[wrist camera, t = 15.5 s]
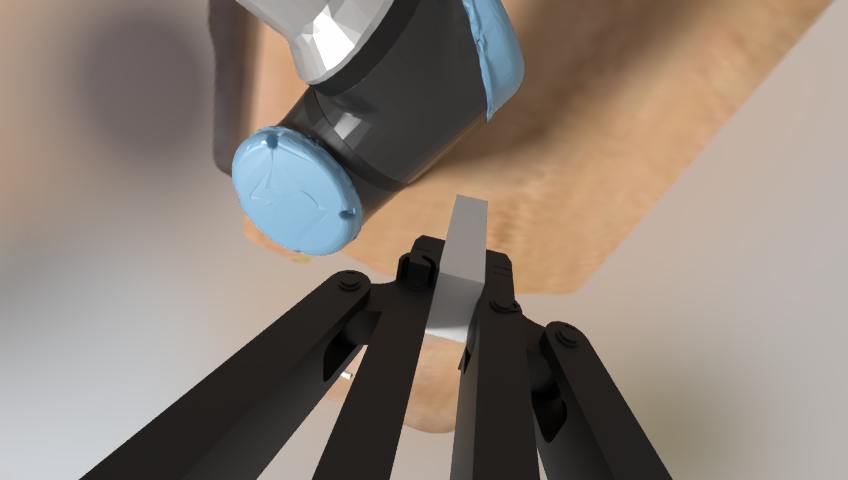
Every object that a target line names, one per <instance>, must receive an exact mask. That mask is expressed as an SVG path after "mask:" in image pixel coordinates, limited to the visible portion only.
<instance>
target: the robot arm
mask: <svg viewBox="0 0 848 480" xmlns="http://www.w3.org/2000/svg"><path fill="white" fill-rule="evenodd" d="M236 1H237V2H238V3H240V4H241V5H242V6H244V7H245V8H246V9H248V10H249V11H250V12H251V13H253V14H254V15H255V16H257V17H258V18H259V19H261V20H262V21H263V22H265V23H266V24H267V25H268V26H270V27H271V28H272V29H274V30H275V31H276V32H278V33H279V34H280V35H281V36H283V37H284V38H285V39H286V40H287V42H288V44H289V46H290V50H291V54H292V57H293V61H294V65H295V68H296V72H297V75H298V76H299V78H300V79H301V80H302V81H304V82H305V83H306V84H308V85H309V88H308V89H307V90H306V91H305V92H304V94H303V95H302V96H301V98H300V99H299V100H298V101H297V103H296V104H295V105H294V106H293V108H292V109H291V110H290V111H289V113H288V114H287V115H286V116H285V118H284V119H283V120H282V121H281V122H280V123H278V124H277V125H276V126H270V127H264V128H263V129H259V130H258V131H257V132H256V133H254V134H252V136H250V137H249V138H247V139H246V140H245V141H244V142H243V143H242V144H241V145H240V146H239V148H238V149H237V151H236V153H235V156H234V160H233V165H232V178H233V184H234V188H235V190H236V191H237V193H238V195H239V197H240V199H239V202H240V204H241V206H242V207H243V209H244V211H245V212H246V214H247V215H248V217H249V218H250V219H251V221H252V222H253V223H254V224H255V225H256V226H257V227H258V228H259V229H260V230H261V231H262V232H263V233H264V234H265V235H266V236H267V237H269V238H270V239H271V240H273V241H274V242H276V243H277V244H279V245H281V246H283V247H285V248H287V249H289V250H291V251H294V252H303V253H305V254H307V255H312V256H322V255H328V254H332V253H335V252H337V251H339V250H341V249H342V248H344V247H345V246H346V245H347V244H348V243H350V242H352V241H353V240H354V239H355V238H356V237H357V236H358V234H359V232H360V230H361V227H362V226H363V225H364V223H365V222H366V221H367V220H368V219H369V218H370V217H371V216H372V215H374V214H375V213H376V212H377V211H378V210H379V209H380V208H382V207H383V206H384V205H385V204H386V203H388V202H389V201H390V200H391V199H392V198H393V197H395V196H396V195H397V194H398V193H399V192H400V191H402V190H403V189H404V188H405V187H406V186H407V185H409V184H410V183H411V182H413V181H414V180H416V179H417V178H418V177H419V176H420V175H422V174H423V173H424V172H425V171H426V170H428V169H429V168H430V167H431V166H433V165H434V164H435V163H436V162H437V161H439V160H440V159H441V158H442V157H444V156H445V155H446V154H447V153H448V152H450V151H451V150H452V149H453V148H454V147H456V146H457V145H458V144H459V143H461V142H462V141H463V140H464V139H465V138H467V137H468V136H469V135H470V134H472V133H473V132H474V131H475V130H476V129H478V128H479V127H480V126H481V125H482V124H484V123H487V122H489V120H490V119H491V118H492V116H493V114H494V113H495V112H496V111H497V110H498V109H499V108H500V107H501V106H502V105H503V104H504V103H506V102H507V101H508V100H509V99H510V98H511V97H512V96H513V95H514V94H515V93H516V92H517V90H518V89H519V87H520V86H521V83H522V81H523V78H524V72H525V66H524V59H523V55H522V51H521V48H520V45H519V42H518V39H517V36H516V34H515V31H514V29H513V26H512V24H511V22H510V20H509V17H508V15H507V13H506V11H505V8H504V6H503V4H502V2H501V0H236ZM487 206H488V201H484V200H480V199H475V198H471V197H467V196H462V195H458V194H457V197H456V201H455V205H454V209H453V213H452V217H451V221H450V225H449V229H448V233H447V237H446V240H441V239H437V238H433V237H429V236H425V235H422V236H420V237H419V238H417V239H416V240H415V242H414V245H413V247H412V250H411V252H410V253H406V254H404V255H402V256H401V257H400V259H399V263H398V270H397V276H396V280H395V281H393V282H390V283H385V284H371V281H370V280H369V278H368V276H366V275H365V274H363V273H361V272H358V271H354V270H345V271H340V272H337V273H335V274H334V275H332V276H331V277H329V278H328V279H327V280H326V281H324V282H323V283H322V284H321V285H320V286H318V287H317V288H316V289H315V290H313V291H312V292H311V293H310V294H308V295H307V296H306V297H305V298H303V299H302V300H301V301H300V302H298V303H297V304H296V305H295V306H294V307H292V308H291V309H290V310H289V311H287V312H286V313H285V314H284V315H282V316H281V317H280V318H279V319H277V320H276V321H275V322H274V323H273V324H271V325H270V326H269V327H267V328H266V329H265V330H264V331H263V332H261V333H260V334H259V335H258V336H256V337H255V338H254V339H253V340H251V341H250V342H249V343H248V344H246V345H245V346H244V347H243V348H241V349H240V350H239V351H238V352H237V353H235V354H234V355H233V356H231V357H230V358H229V359H228V360H227V361H225V362H224V363H223V364H222V365H221V366H219V367H218V368H217V369H215V370H214V371H213V372H212V373H210V374H209V375H208V376H207V377H205V378H204V379H203V380H202V381H201V382H199V383H198V384H197V385H196V386H194V387H193V388H192V389H191V390H189V391H188V392H187V393H186V394H185V395H183V396H182V397H181V398H179V399H178V400H177V401H176V402H175V403H173V404H172V405H171V406H170V407H168V408H167V409H166V410H165V411H164V412H162V413H161V414H160V415H158V416H157V417H156V418H155V419H153V420H152V421H151V422H150V423H148V424H147V425H146V426H145V427H144V428H142V429H141V430H140V431H138V432H137V433H136V434H135V435H134V436H132V437H131V438H130V439H129V440H127V441H126V442H125V443H124V444H122V445H121V446H120V447H119V448H117V450H115V451H114V452H112V454H110V455H109V456H108V457H106V458H105V459H104V460H103V461H101V462H100V463H99V464H98V465H97V466H95V467H94V468H93V469H92V470H90V471H89V472H88V473H86V474H85V475H84V476H83V477H82V478H80V479H79V480H256V479H257V478H258V477H259V475H260V474H261V473H262V472H263V471H264V469H265V468H266V467H267V466H268V464H269V463H270V462H271V461H272V459H273V458H274V457H275V456H276V454H277V453H278V452H279V451H280V449H281V448H282V447H283V446H284V444H285V443H286V442H287V441H288V439H289V438H290V437H291V436H292V434H293V433H294V432H295V431H296V430H297V428H298V427H299V426H300V425H301V423H302V422H303V421H304V420H305V418H306V417H307V416H308V415H309V414H310V412H311V411H312V410H313V409H314V407H315V406H316V405H317V404H318V402H319V401H320V400H321V399H322V397H323V396H324V395H325V394H326V392H327V391H328V390H329V389H330V388H331V386H332V385H333V384H334V383H335V381H336V380H337V379H338V378H339V376H340V375H341V374H342V373H343V371H344V370H345V369H346V368H347V366H348V365H349V364H350V363H351V362H352V360H353V359H354V358H355V357H356V355H357V354H358V353H359V352H360V350H361V349H362V347H363V345H368V347H367V349H366V352H365V354H364V356H363V359H362V361H361V364H360V366H359V368H358V371H357V373H356V375H355V378H354V380H353V383H352V385H351V387H350V390H349V392H348V394H347V397H346V399H345V402H344V404H343V406H342V409H341V411H340V414H339V416H338V418H337V421H336V423H335V425H334V428H333V430H332V433H331V435H330V437H329V440H328V442H327V445H326V447H325V449H324V452H323V454H322V456H321V459H320V461H319V464H318V466H317V468H316V471H315V473H314V475H313V478H312V480H389V479H390V475H391V471H392V467H393V463H394V459H395V455H396V450H397V446H398V442H399V438H400V434H401V429H402V425H403V421H404V417H405V413H406V409H407V404H408V400H409V396H410V392H411V388H412V383H413V379H414V375H415V371H416V367H417V363H418V358H419V354H420V350H421V346H422V342H423V337H424V333H429V334H432V335H436V336H440V337H444V338H448V339H451V340H455V341H459V342H463V343H465V340H466V337H467V343H466V347H465V350H464V353H463V356H462V358H461V361H460V364H459V367H458V369H459V370H461V377H460V386H459V396H458V406H457V415H456V425H455V435H454V444H453V454H452V464H451V473H450V480H540V475H539V474H540V473H539V466H538V465H539V464H538V455H537V448H538V451H539V454H540V458H541V461H542V463H543V467H544V470H545V473H546V476H547V479H548V480H672V478H671V476H670V474H669V473H668V471H667V469H666V468H665V466H664V464H663V463H662V461H661V459H660V458H659V456H658V454H657V453H656V451H655V450H654V448H653V446H652V445H651V443H650V441H649V440H648V438H647V436H646V435H645V433H644V431H643V430H642V428H641V426H640V425H639V423H638V421H637V420H636V418H635V417H634V415H633V413H632V411H631V410H630V408H629V406H628V405H627V403H626V401H625V400H624V398H623V397H622V395H621V393H620V392H619V390H618V388H617V387H616V385H615V383H614V382H613V380H612V378H611V377H610V375H609V373H608V372H607V370H606V368H605V367H604V365H603V364H602V362H601V360H600V358H599V357H598V355H597V354H596V352H595V350H594V349H593V347H592V345H591V344H590V342H589V340H588V339H587V338H586V336H585V335H584V334H583V333H582V332H581V331H580V330H578V329H577V328H576V327H574V326H572V325H570V324H568V323H564V322H560V321H555V322H551V323H549V324H547V326H546V328H545V327H543V326H541V325H539V324H537V323H535V322H533V321H531V320H530V319H527V318H526V317H525V316H524V315H523V314H522V309H521V307H520V305H519V304H518V303H517V301H515V296H514V285H513V273H512V262H511V261H510V259H509V258H508V256H507V255H506V254H503V253H499V252H495V251H491V250H487V249H486V233H487ZM536 445H537V446H536Z"/></svg>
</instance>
